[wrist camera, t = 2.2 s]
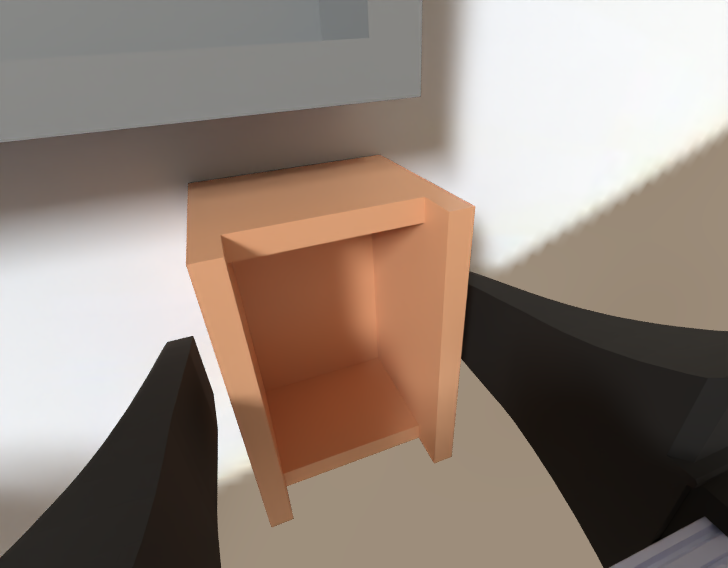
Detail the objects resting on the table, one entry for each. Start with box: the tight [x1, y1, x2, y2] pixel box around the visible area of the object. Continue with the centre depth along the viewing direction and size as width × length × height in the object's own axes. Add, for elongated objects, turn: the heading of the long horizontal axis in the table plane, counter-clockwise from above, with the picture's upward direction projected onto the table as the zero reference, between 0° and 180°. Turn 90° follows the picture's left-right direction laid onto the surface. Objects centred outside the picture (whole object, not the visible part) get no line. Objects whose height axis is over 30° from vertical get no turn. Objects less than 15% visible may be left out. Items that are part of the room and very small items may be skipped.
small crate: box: [186, 155, 475, 527], centre depth 11 cm, size 8×6×5 cm
